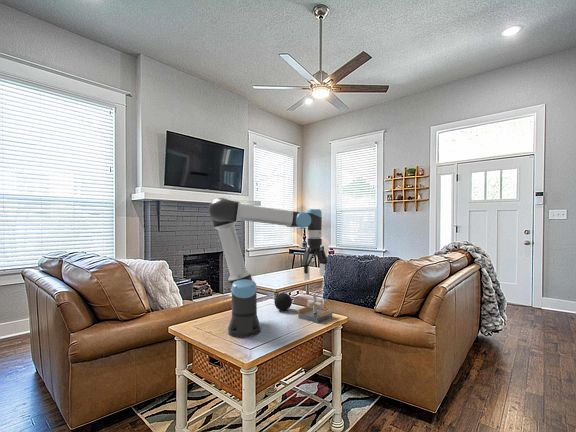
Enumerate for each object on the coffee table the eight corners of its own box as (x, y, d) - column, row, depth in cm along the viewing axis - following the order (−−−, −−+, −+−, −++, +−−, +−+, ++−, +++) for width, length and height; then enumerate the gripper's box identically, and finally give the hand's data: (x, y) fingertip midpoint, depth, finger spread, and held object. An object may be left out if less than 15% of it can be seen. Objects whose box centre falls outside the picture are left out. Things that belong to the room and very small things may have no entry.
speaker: (282, 314, 175) (281, 296, 175) (271, 310, 183) (270, 293, 183) (295, 310, 182) (295, 293, 182) (284, 307, 189) (284, 290, 189)
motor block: (318, 323, 160) (317, 314, 160) (298, 318, 169) (298, 309, 169) (332, 317, 170) (332, 308, 170) (312, 312, 178) (312, 304, 178)
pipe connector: (328, 312, 168) (327, 293, 168) (314, 316, 162) (314, 296, 162) (315, 308, 176) (314, 290, 176) (302, 312, 170) (301, 293, 170)
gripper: (305, 239, 157) (305, 282, 157) (333, 237, 176) (333, 275, 176) (294, 238, 162) (294, 280, 162) (322, 236, 181) (322, 273, 181)
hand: (314, 277), depth 169 cm, fingers open, 13 cm apart
